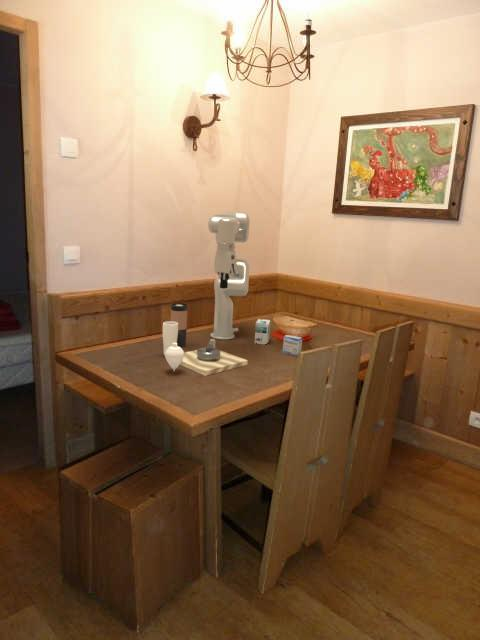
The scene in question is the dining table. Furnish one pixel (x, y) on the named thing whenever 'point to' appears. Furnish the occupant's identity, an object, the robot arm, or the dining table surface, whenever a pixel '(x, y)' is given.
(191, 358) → the board
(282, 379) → the dining table surface
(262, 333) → the light bulb box
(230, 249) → the robot arm
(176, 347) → the spinning top
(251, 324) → the dining table surface
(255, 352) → the dining table surface
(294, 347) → the medicine box
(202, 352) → the silver piece
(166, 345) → the drinking glass
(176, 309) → the travel mug
